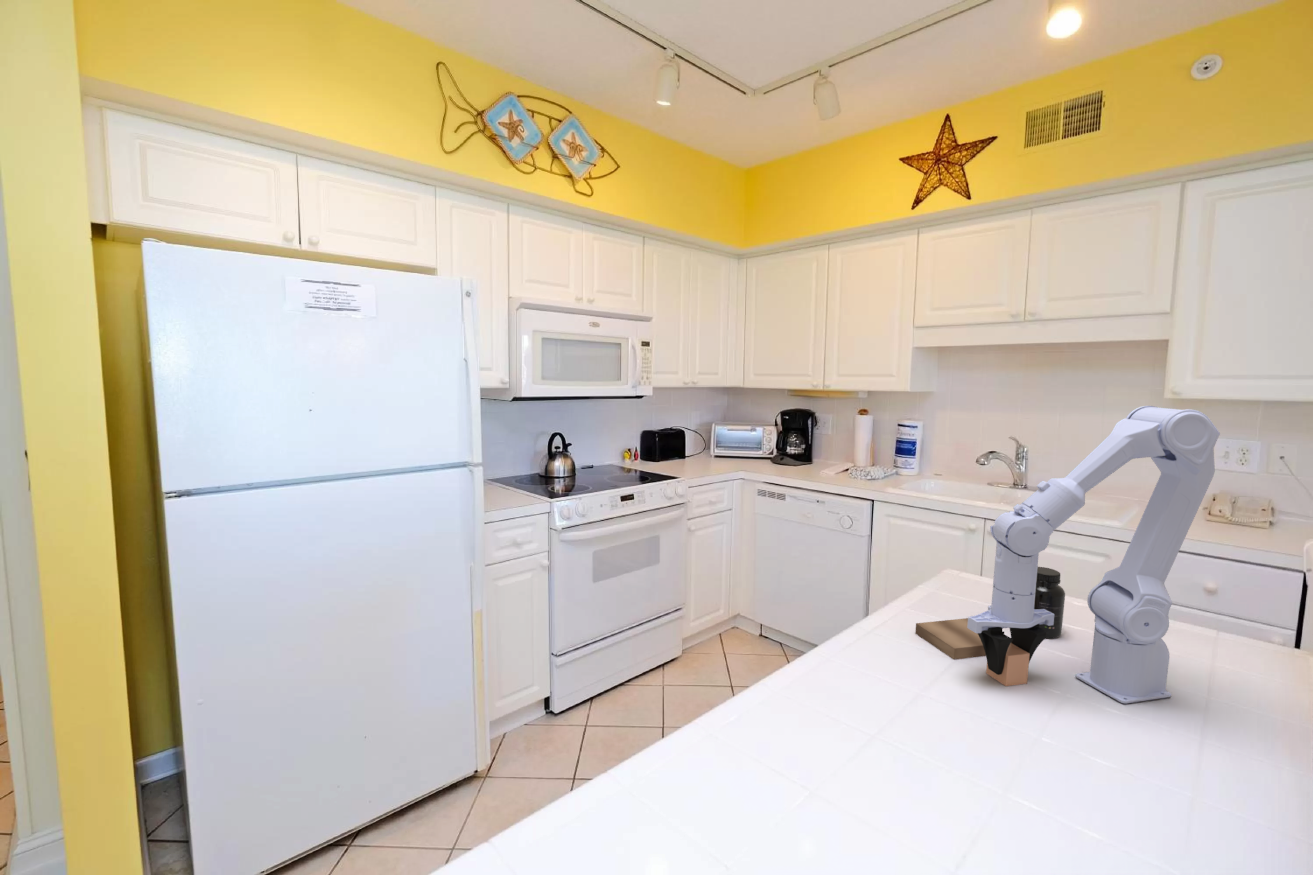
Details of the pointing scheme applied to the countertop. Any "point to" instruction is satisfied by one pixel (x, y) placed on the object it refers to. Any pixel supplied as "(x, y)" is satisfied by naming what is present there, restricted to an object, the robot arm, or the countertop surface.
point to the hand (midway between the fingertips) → (1006, 669)
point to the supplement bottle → (1050, 599)
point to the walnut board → (952, 638)
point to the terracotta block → (1013, 667)
